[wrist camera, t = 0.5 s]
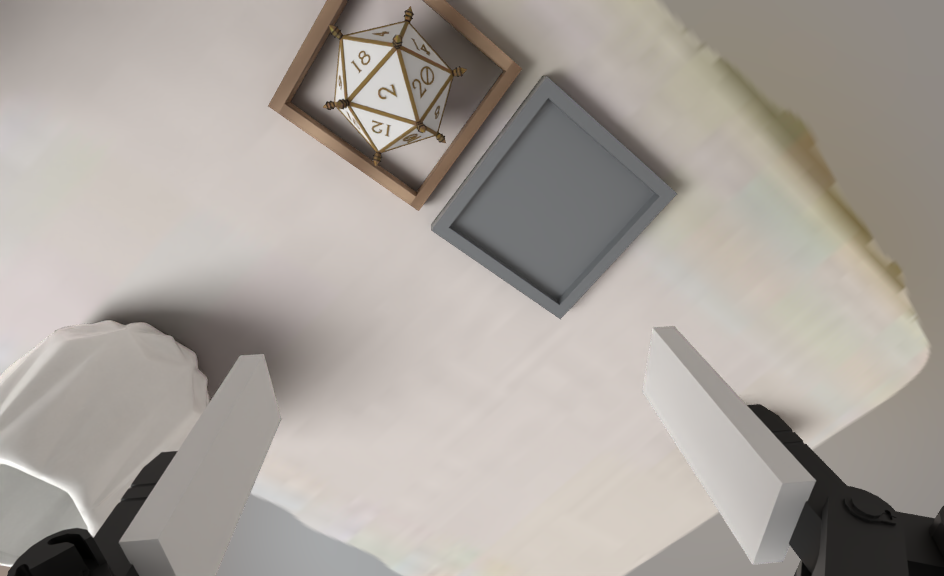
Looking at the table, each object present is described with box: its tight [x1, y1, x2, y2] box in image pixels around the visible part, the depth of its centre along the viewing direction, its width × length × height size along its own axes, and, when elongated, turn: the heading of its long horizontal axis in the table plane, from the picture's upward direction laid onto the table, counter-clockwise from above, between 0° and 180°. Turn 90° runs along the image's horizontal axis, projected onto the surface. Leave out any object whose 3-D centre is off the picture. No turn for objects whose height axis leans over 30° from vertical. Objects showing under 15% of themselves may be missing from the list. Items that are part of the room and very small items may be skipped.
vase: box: [0, 320, 210, 567], centre depth 36 cm, size 14×14×15 cm
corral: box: [268, 0, 522, 211], centre depth 33 cm, size 13×13×2 cm
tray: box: [431, 76, 677, 319], centre depth 38 cm, size 14×14×2 cm
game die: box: [323, 6, 467, 166], centre depth 30 cm, size 9×8×10 cm
